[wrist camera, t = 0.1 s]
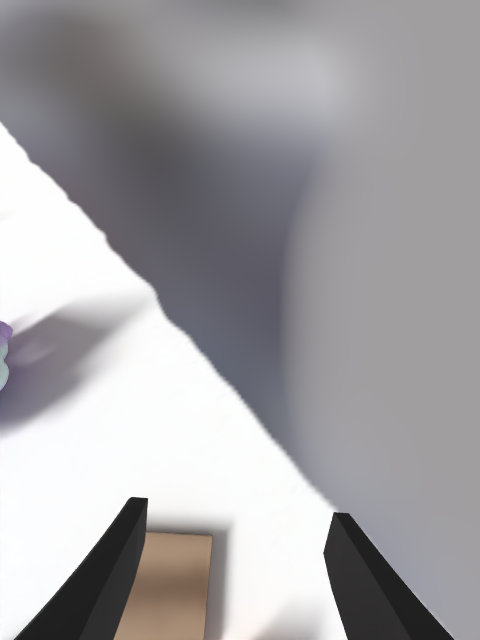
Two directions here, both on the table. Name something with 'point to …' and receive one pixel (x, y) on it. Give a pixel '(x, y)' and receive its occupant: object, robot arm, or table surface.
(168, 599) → the walnut block
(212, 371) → the table surface
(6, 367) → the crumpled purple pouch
